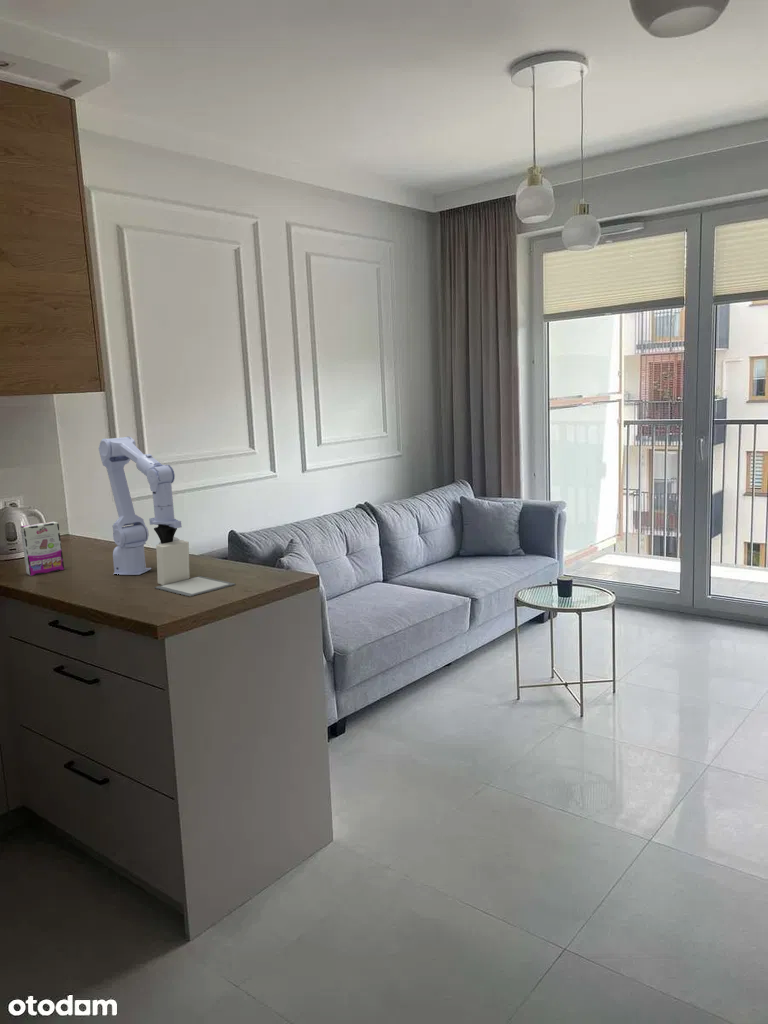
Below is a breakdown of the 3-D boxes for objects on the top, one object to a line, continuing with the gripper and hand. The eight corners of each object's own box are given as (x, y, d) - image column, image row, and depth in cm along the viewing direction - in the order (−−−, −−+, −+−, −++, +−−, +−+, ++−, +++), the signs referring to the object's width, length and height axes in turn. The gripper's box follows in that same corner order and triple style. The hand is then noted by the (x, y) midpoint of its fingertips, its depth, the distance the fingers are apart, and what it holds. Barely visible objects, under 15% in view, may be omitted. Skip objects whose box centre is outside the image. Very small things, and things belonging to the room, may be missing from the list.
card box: (157, 583, 231) (156, 544, 229) (182, 576, 238) (181, 539, 235) (164, 585, 229) (162, 547, 226) (189, 579, 236) (188, 542, 233)
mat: (154, 588, 226) (154, 586, 226) (200, 577, 238) (199, 575, 238) (189, 597, 214) (189, 595, 214) (235, 584, 226) (235, 583, 226)
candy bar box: (60, 567, 261) (54, 520, 258) (64, 570, 257) (59, 522, 254) (25, 573, 254) (19, 525, 251) (29, 576, 250) (23, 527, 247)
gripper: (138, 505, 233) (143, 549, 235) (165, 508, 223) (169, 554, 225) (159, 502, 238) (163, 545, 240) (185, 505, 228) (189, 549, 230)
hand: (167, 549), depth 233 cm, fingers closed
